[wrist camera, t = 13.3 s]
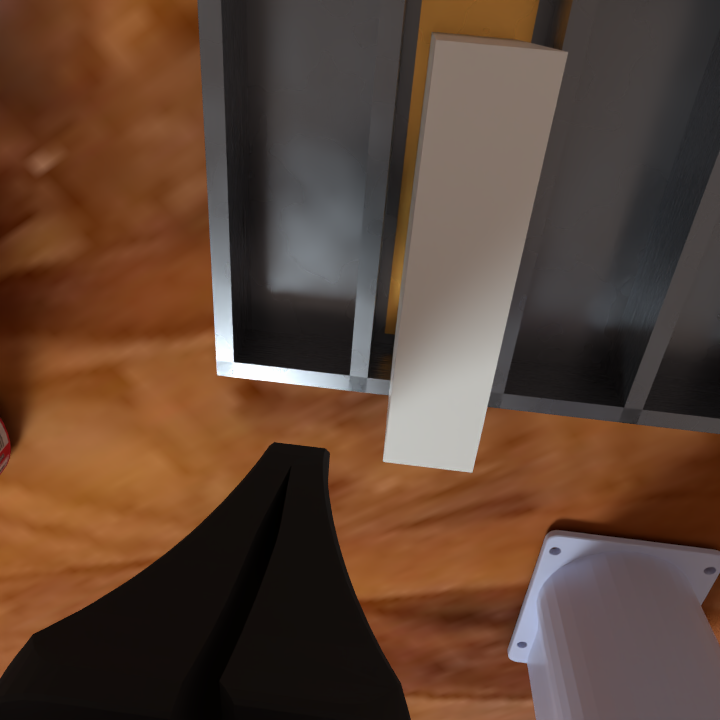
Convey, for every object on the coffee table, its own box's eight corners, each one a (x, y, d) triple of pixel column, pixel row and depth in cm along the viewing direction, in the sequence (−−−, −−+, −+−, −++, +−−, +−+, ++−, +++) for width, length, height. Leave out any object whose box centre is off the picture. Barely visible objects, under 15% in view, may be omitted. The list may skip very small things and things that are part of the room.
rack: (729, 384, 23) (780, 446, 20) (243, 329, 24) (214, 379, 20) (924, -31, 16) (1053, -43, 13) (233, -90, 17) (187, -115, 14)
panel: (459, 346, 22) (472, 472, 16) (394, 339, 22) (382, 461, 16) (516, 39, 17) (568, 52, 11) (431, 31, 17) (435, 39, 11)
